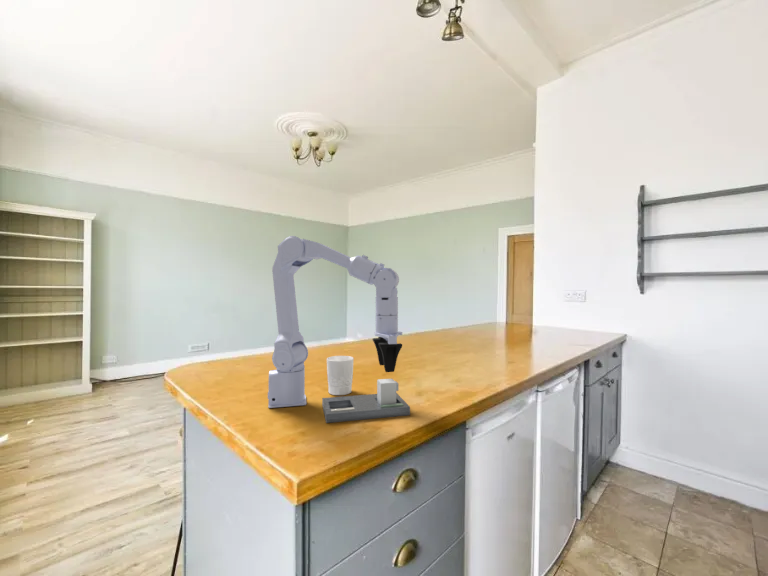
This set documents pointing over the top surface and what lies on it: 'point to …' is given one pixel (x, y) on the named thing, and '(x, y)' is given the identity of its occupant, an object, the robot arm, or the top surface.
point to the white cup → (340, 374)
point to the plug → (386, 391)
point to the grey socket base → (361, 408)
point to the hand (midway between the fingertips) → (386, 368)
